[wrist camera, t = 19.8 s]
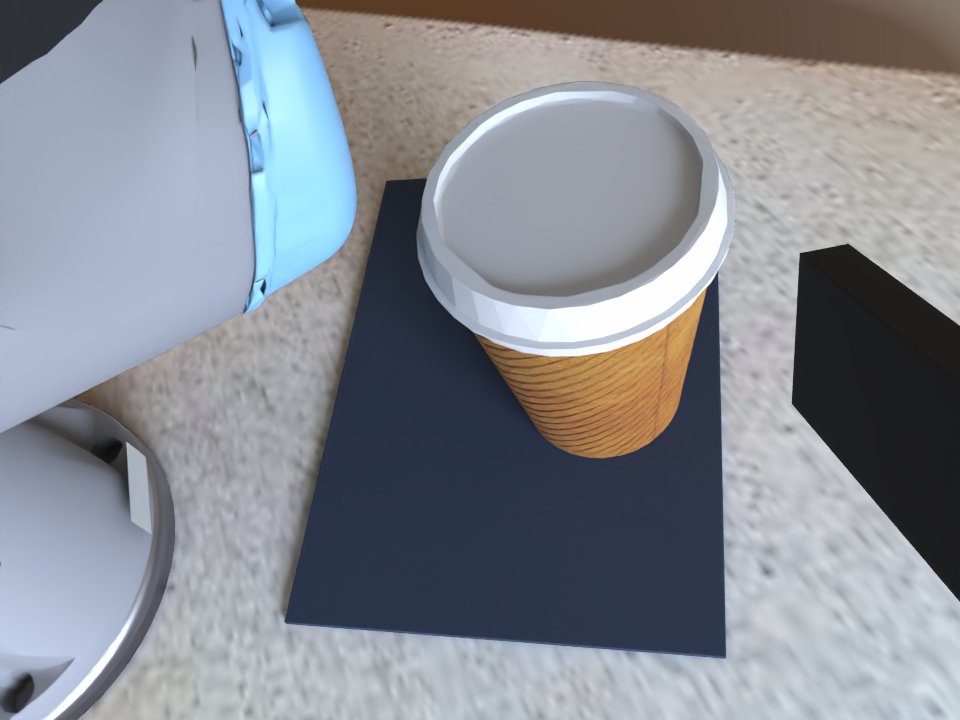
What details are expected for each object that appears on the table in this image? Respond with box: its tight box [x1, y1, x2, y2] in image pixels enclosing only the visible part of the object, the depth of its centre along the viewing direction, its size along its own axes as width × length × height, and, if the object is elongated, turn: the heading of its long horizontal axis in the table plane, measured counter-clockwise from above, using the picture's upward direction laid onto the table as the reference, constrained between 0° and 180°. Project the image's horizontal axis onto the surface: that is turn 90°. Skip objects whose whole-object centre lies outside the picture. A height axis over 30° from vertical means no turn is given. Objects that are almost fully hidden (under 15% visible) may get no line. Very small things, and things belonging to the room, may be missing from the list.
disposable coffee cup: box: [416, 81, 736, 458], centre depth 30 cm, size 10×10×12 cm
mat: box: [285, 179, 726, 658], centre depth 36 cm, size 16×22×1 cm
